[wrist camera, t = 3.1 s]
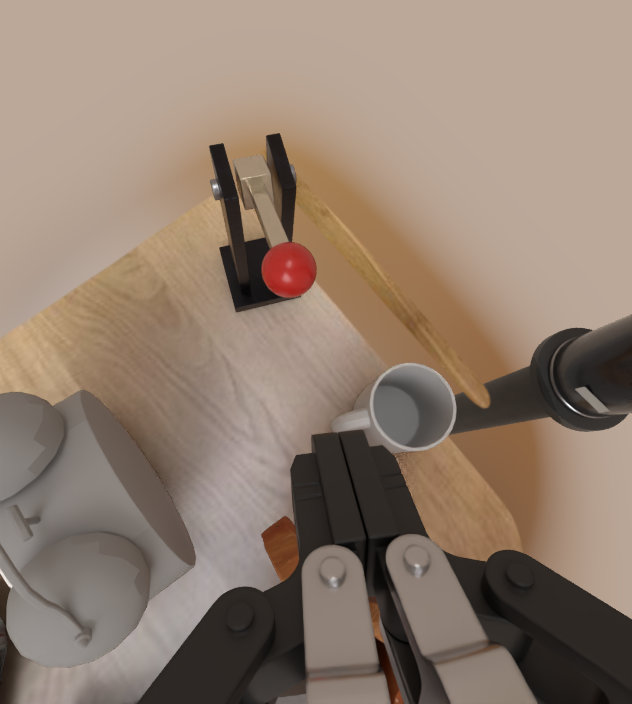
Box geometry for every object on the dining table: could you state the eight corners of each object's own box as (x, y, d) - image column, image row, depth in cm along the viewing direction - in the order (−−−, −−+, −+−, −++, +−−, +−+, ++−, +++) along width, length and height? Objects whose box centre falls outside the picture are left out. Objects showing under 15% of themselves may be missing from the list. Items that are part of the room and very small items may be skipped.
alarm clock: (43, 449, 41) (-204, 432, 20) (128, 397, 43) (-15, 329, 22) (135, 609, 38) (-36, 785, 17) (221, 545, 40) (163, 633, 19)
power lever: (324, 301, 26) (322, 259, 24) (271, 314, 26) (265, 272, 23) (273, 187, 34) (268, 147, 32) (232, 196, 34) (224, 155, 31)
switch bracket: (301, 297, 47) (316, 200, 30) (236, 312, 46) (213, 221, 29) (283, 238, 49) (288, 114, 31) (220, 252, 48) (189, 132, 30)
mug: (401, 620, 40) (473, 707, 26) (329, 683, 38) (362, 815, 24) (309, 483, 42) (327, 492, 28) (237, 536, 41) (216, 575, 26)
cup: (430, 444, 44) (467, 440, 36) (333, 468, 43) (348, 468, 34) (410, 375, 46) (442, 355, 37) (317, 395, 45) (327, 379, 36)
